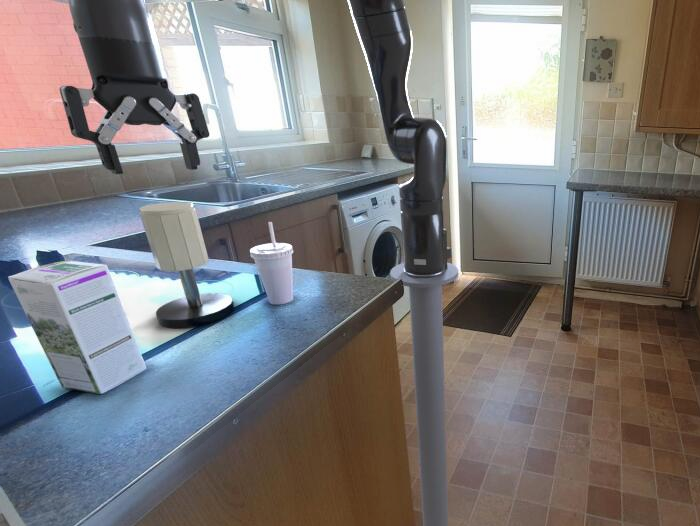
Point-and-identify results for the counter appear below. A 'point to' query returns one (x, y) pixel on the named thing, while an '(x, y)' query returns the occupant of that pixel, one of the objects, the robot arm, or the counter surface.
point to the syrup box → (80, 324)
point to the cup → (174, 235)
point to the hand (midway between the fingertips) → (157, 171)
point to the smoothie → (275, 269)
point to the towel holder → (194, 306)
